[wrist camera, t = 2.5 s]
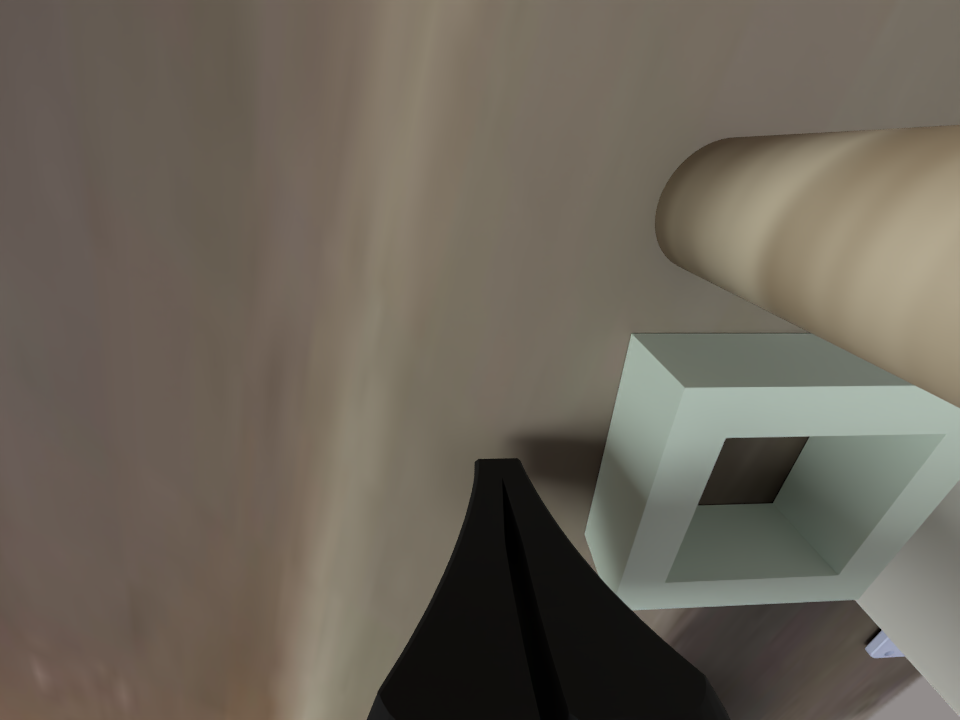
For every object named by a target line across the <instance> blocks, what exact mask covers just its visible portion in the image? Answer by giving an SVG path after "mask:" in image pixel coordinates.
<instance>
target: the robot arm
mask: <svg viewBox="0 0 960 720" xmlns="http://www.w3.org/2000/svg"><path fill="white" fill-rule="evenodd" d="M865 649H866V651H867V652H868V654H869V655H870V656H871V657H873V658H885V657H902V656H905V655H904V654H903V653H902V652H901V651H900V650H899V649H898V648H897V646H896V645H895V644H894V643H893V642H892V641H891V640H890V639H889V638H888V636H887V635H886V634H885V633H884V632H883V631H882V630H881V631H880V632H879V633H878V634H877V635H876V637H875V638H874V639H873V640H872V641H871V642H870V643H869V644H868V645H867V646H866V647H865ZM367 720H730V718H729V716H728V714H727V712H726V710H725V708H724V707H723V705H722V703H721V701H720V700H719V698H718V696H717V695H716V693H715V691H714V690H713V688H712V686H711V685H710V683H709V681H708V680H707V678H706V676H705V675H704V674H703V673H701V672H700V671H699V670H698V669H697V668H695V667H694V666H693V665H692V664H691V663H689V662H688V661H687V660H686V659H685V658H683V657H682V656H681V655H680V654H679V653H678V652H676V651H675V650H674V649H673V648H672V647H671V646H669V645H668V644H667V643H666V642H665V641H664V640H663V639H662V638H660V637H659V636H658V635H657V634H656V633H655V632H654V631H653V630H652V629H651V628H650V627H649V626H647V625H646V624H645V623H644V622H643V621H642V620H641V619H640V618H639V617H638V616H637V615H636V614H635V613H634V612H633V611H632V610H631V609H630V608H629V607H628V606H627V605H626V604H625V603H624V602H623V601H622V600H621V599H620V598H619V597H618V596H617V595H616V594H615V593H614V592H613V591H612V590H611V589H610V588H609V587H608V586H607V585H606V583H605V582H604V581H603V580H602V579H601V578H600V577H599V576H598V575H597V573H596V572H595V571H594V570H593V569H592V568H591V567H590V565H589V564H588V563H587V562H586V561H585V559H584V558H583V557H582V556H581V555H580V553H579V552H578V551H577V550H576V548H575V547H574V546H573V544H572V543H571V542H570V541H569V539H568V538H567V536H566V535H565V534H564V532H563V531H562V530H561V528H560V527H559V526H558V524H557V523H556V521H555V520H554V518H553V517H552V515H551V514H550V512H549V511H548V509H547V508H546V506H545V505H544V503H543V501H542V500H541V498H540V497H539V495H538V493H537V492H536V490H535V488H534V486H533V485H532V483H531V481H530V479H529V477H528V476H527V474H526V472H525V470H524V468H523V466H522V463H521V461H520V460H519V459H518V458H511V459H478V460H477V461H476V462H475V473H474V483H473V488H472V493H471V497H470V501H469V505H468V509H467V512H466V516H465V519H464V522H463V525H462V528H461V531H460V534H459V537H458V540H457V542H456V545H455V548H454V550H453V553H452V555H451V558H450V560H449V562H448V565H447V567H446V569H445V572H444V574H443V576H442V578H441V580H440V583H439V585H438V587H437V589H436V591H435V593H434V595H433V597H432V599H431V601H430V603H429V605H428V607H427V609H426V611H425V613H424V615H423V616H422V618H421V620H420V622H419V624H418V625H417V627H416V629H415V631H414V633H413V634H412V636H411V638H410V640H409V642H408V643H407V645H406V647H405V648H404V650H403V652H402V653H401V655H400V657H399V658H398V660H397V661H396V663H395V665H394V666H393V668H392V669H391V671H390V673H389V674H388V676H387V677H386V679H385V681H384V682H383V684H382V685H381V687H380V689H379V690H378V693H377V696H376V698H375V701H374V703H373V705H372V708H371V710H370V713H369V715H368V718H367Z"/></svg>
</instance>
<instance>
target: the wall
mask: <svg viewBox="0 0 960 720" xmlns="http://www.w3.org/2000/svg"><path fill="white" fill-rule="evenodd" d="M855 601H856V602H857V603H858V604H859V605H860V606H861V607H862V609H863V610H864V611H865V612H866V613H867V614H868V615H869V616H870V617H871V619H872V620H873V621H874V622H875V623H876V624H877V625H878V626H879V628H880V629H881V630H882V631H883V632H884V633H885V634H886V635H887V636H888V638H889V639H890V640H891V641H892V642H893V643H894V644H895V645H896V646H897V648H898V649H899V650H900V651H901V652H902V653H903V654H904V655H905V657H906V658H907V659H908V660H909V661H910V662H911V663H912V664H913V665H914V667H915V668H916V669H917V670H918V671H919V672H920V673H921V674H922V676H923V677H924V678H925V679H926V680H927V681H928V682H929V683H930V684H931V686H932V687H933V688H934V689H935V690H936V691H937V692H938V693H939V694H940V696H941V697H942V698H943V699H944V700H945V701H946V702H947V703H948V705H949V706H950V707H951V708H952V709H953V710H954V711H955V712H956V713H957V715H958V716H959V717H960V480H959V481H958V482H957V483H956V485H955V486H954V487H953V488H952V489H951V490H950V492H949V493H948V494H947V495H946V496H945V497H944V499H943V500H942V501H941V502H940V503H939V505H938V506H937V507H936V508H935V509H934V510H933V512H932V513H931V514H930V515H929V516H928V518H927V519H926V520H925V521H924V522H923V523H922V525H921V526H920V527H919V528H918V529H917V531H916V532H915V533H914V534H913V535H912V536H911V538H910V539H909V540H908V541H907V542H906V544H905V545H904V546H903V547H902V548H901V549H900V551H899V552H898V553H897V554H896V555H895V557H894V558H893V559H892V560H891V561H890V562H889V564H888V565H887V566H886V567H885V568H884V570H883V571H882V572H881V573H880V574H879V575H878V577H877V578H876V579H875V580H874V581H873V583H872V584H871V585H870V586H869V587H868V588H867V590H866V591H865V592H864V593H863V594H862V596H861V597H860V598H859V599H858V600H855Z"/></svg>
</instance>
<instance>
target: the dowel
mask: <svg viewBox="0 0 960 720" xmlns="http://www.w3.org/2000/svg"><path fill="white" fill-rule="evenodd" d="M655 230H656V236H657V241H658V243H659V246H660V248H661V250H662V251H663V253H664V254H665V256H666V257H667V258H668V259H669V260H670V261H671V262H673V263H674V264H676V265H677V266H679V267H681V268H683V269H685V270H687V271H689V272H691V273H693V274H695V275H697V276H699V277H701V278H703V279H705V280H707V281H709V282H711V283H713V284H715V285H717V286H719V287H721V288H723V289H725V290H727V291H729V292H731V293H733V294H735V295H737V296H739V297H741V298H743V299H745V300H747V301H749V302H750V303H752V304H754V305H756V306H758V307H760V308H762V309H764V310H766V311H768V312H770V313H772V314H774V315H776V316H778V317H780V318H782V319H784V320H786V321H788V322H790V323H792V324H794V325H796V326H798V327H800V328H802V329H804V330H806V331H808V332H810V333H812V334H814V335H816V336H818V337H820V338H822V339H824V340H826V341H828V342H830V343H832V344H834V345H836V346H838V347H840V348H842V349H844V350H846V351H848V352H850V353H851V354H853V355H855V356H857V357H859V358H861V359H863V360H865V361H867V362H869V363H871V364H873V365H875V366H877V367H879V368H881V369H883V370H885V371H887V372H889V373H891V374H893V375H895V376H897V377H899V378H901V379H903V380H905V381H907V382H909V383H911V384H913V385H915V386H917V387H919V388H921V389H923V390H925V391H927V392H929V393H931V394H933V395H935V396H937V397H939V398H941V399H943V400H945V401H947V402H949V403H951V404H953V405H954V406H956V407H958V408H960V125H952V126H934V127H916V128H898V129H880V130H862V131H844V132H825V133H807V134H789V135H771V136H753V137H735V138H726V139H721V140H718V141H715V142H712V143H710V144H708V145H706V146H704V147H702V148H701V149H699V150H698V151H696V152H695V153H693V154H692V155H691V156H690V157H688V158H687V159H686V160H685V161H684V162H683V163H682V164H681V165H680V166H679V167H678V168H677V170H676V171H675V172H674V173H673V175H672V176H671V178H670V179H669V181H668V182H667V184H666V186H665V188H664V190H663V192H662V194H661V197H660V199H659V203H658V206H657V211H656V217H655Z"/></svg>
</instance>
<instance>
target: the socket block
mask: <svg viewBox="0 0 960 720" xmlns="http://www.w3.org/2000/svg"><path fill="white" fill-rule="evenodd" d="M804 436H810V437H809V439H808V441H807V442H806V444H805V446H804V448H803V450H802V451H801V453H800V455H799V457H798V459H797V460H796V462H795V464H794V466H793V468H792V469H791V471H790V473H789V475H788V477H787V479H786V480H785V482H784V484H783V486H782V488H781V489H780V491H779V493H778V495H777V497H776V498H775V500H774V502H773V503H766V504H733V505H700V506H697V505H698V503H699V500H700V498H701V496H702V493H703V491H704V489H705V486H706V484H707V481H708V479H709V477H710V474H711V472H712V470H713V467H714V465H715V462H716V460H717V458H718V455H719V453H720V451H721V448H722V446H723V443H724V441H725V439H726V438H750V437H804ZM959 480H960V408H958V407H956V406H954V405H953V404H951V403H949V402H947V401H945V400H943V399H941V398H939V397H937V396H935V395H933V394H931V393H929V392H927V391H925V390H923V389H921V388H919V387H917V386H915V385H913V384H911V383H909V382H907V381H905V380H903V379H901V378H899V377H897V376H895V375H893V374H891V373H889V372H887V371H885V370H883V369H881V368H879V367H877V366H875V365H873V364H871V363H869V362H867V361H865V360H863V359H861V358H859V357H857V356H855V355H853V354H851V353H850V352H848V351H846V350H844V349H842V348H840V347H838V346H836V345H834V344H832V343H830V342H828V341H826V340H824V339H822V338H820V337H818V336H816V335H814V334H631V338H630V343H629V347H628V351H627V355H626V360H625V364H624V368H623V373H622V377H621V381H620V385H619V390H618V394H617V398H616V402H615V407H614V411H613V415H612V420H611V424H610V428H609V432H608V437H607V441H606V445H605V449H604V454H603V458H602V462H601V466H600V471H599V475H598V479H597V484H596V488H595V492H594V496H593V501H592V505H591V509H590V513H589V518H588V522H587V526H586V531H585V537H586V540H587V543H588V546H589V549H590V551H591V554H592V557H593V560H594V563H595V566H596V569H597V572H598V575H599V577H600V578H601V579H602V580H603V581H604V582H605V583H606V585H607V586H608V587H609V588H610V589H611V590H612V591H613V592H614V593H615V594H616V595H617V596H618V597H619V598H620V599H621V600H622V601H623V602H624V603H625V604H626V605H627V606H628V607H629V608H630V609H631V610H649V609H670V608H691V607H712V606H733V605H754V604H775V603H796V602H817V601H838V600H858V599H859V598H860V597H861V596H862V594H863V593H864V592H865V591H866V590H867V588H868V587H869V586H870V585H871V584H872V583H873V581H874V580H875V579H876V578H877V577H878V575H879V574H880V573H881V572H882V571H883V570H884V568H885V567H886V566H887V565H888V564H889V562H890V561H891V560H892V559H893V558H894V557H895V555H896V554H897V553H898V552H899V551H900V549H901V548H902V547H903V546H904V545H905V544H906V542H907V541H908V540H909V539H910V538H911V536H912V535H913V534H914V533H915V532H916V531H917V529H918V528H919V527H920V526H921V525H922V523H923V522H924V521H925V520H926V519H927V518H928V516H929V515H930V514H931V513H932V512H933V510H934V509H935V508H936V507H937V506H938V505H939V503H940V502H941V501H942V500H943V499H944V497H945V496H946V495H947V494H948V493H949V492H950V490H951V489H952V488H953V487H954V486H955V485H956V483H957V482H958V481H959Z"/></svg>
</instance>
